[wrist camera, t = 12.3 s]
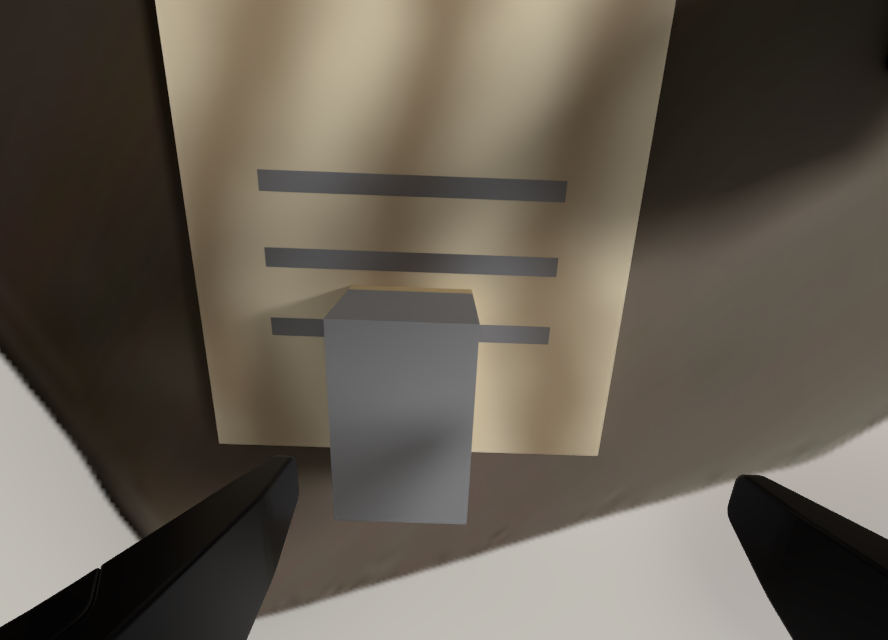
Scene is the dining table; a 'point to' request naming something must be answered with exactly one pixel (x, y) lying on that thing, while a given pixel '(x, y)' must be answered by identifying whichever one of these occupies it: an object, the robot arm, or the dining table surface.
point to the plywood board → (414, 192)
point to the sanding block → (401, 402)
